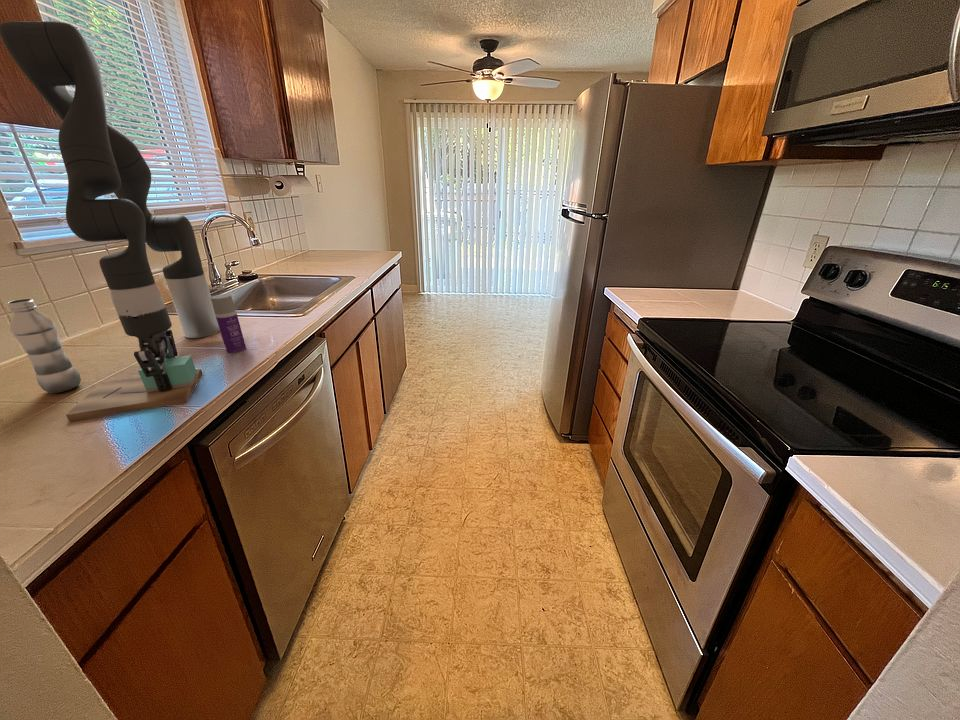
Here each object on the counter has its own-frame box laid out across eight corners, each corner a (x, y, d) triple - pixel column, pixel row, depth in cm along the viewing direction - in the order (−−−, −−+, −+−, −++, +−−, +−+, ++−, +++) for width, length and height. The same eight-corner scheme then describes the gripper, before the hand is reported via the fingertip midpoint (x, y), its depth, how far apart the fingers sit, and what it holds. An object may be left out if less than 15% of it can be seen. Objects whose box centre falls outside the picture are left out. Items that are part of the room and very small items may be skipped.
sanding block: (155, 382, 86) (147, 361, 84) (198, 375, 89) (191, 355, 87) (146, 392, 82) (138, 370, 80) (191, 385, 85) (184, 364, 83)
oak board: (103, 388, 87) (100, 382, 87) (203, 374, 93) (201, 368, 93) (69, 421, 75) (65, 414, 75) (186, 402, 81) (183, 395, 81)
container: (237, 355, 103) (221, 299, 97) (222, 354, 104) (205, 298, 98) (250, 348, 108) (235, 294, 101) (235, 347, 109) (220, 293, 102)
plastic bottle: (49, 399, 83) (0, 307, 75) (39, 391, 87) (-9, 302, 78) (89, 387, 88) (47, 299, 80) (78, 380, 92) (37, 295, 83)
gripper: (133, 301, 83) (161, 373, 90) (100, 321, 71) (136, 403, 78) (175, 297, 86) (199, 368, 93) (151, 316, 73) (180, 396, 80)
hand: (170, 384), depth 85 cm, fingers closed on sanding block, 5 cm apart
